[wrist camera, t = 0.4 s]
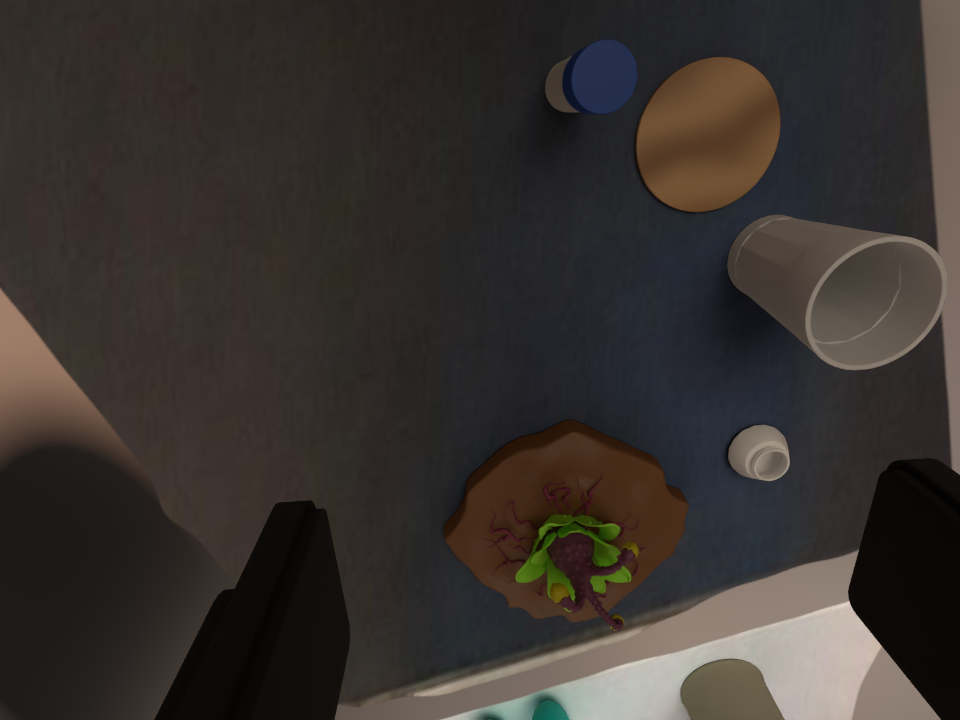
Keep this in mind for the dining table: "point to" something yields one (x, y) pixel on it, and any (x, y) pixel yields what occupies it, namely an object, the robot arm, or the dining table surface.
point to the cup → (841, 287)
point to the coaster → (707, 134)
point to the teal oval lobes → (549, 711)
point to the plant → (567, 522)
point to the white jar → (759, 453)
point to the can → (728, 693)
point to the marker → (593, 79)
